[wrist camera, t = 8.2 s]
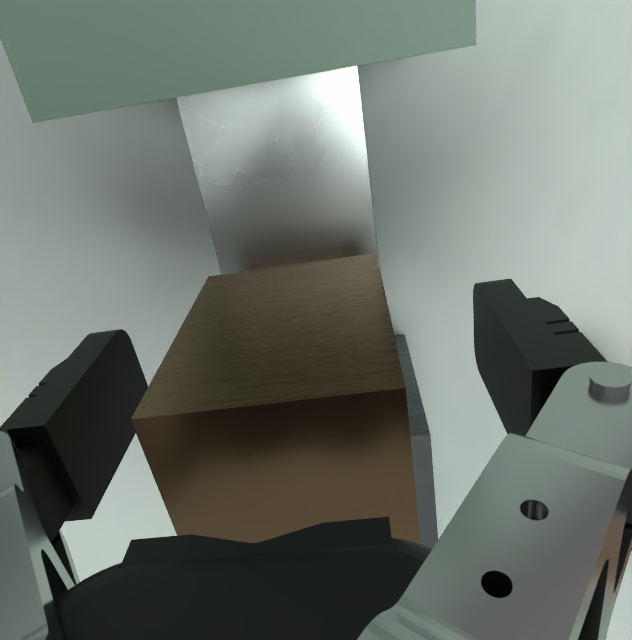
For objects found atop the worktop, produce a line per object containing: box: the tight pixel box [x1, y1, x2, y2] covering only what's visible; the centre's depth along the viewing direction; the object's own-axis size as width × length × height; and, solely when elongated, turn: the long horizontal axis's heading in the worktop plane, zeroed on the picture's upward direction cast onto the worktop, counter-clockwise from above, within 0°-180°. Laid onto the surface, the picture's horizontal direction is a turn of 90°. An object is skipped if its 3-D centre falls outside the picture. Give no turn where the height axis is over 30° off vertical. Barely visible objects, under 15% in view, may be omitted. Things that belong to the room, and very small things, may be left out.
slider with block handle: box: [131, 66, 421, 544], centre depth 13 cm, size 4×18×11 cm, turn 9°
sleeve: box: [394, 335, 438, 548], centre depth 21 cm, size 6×15×6 cm, turn 9°
